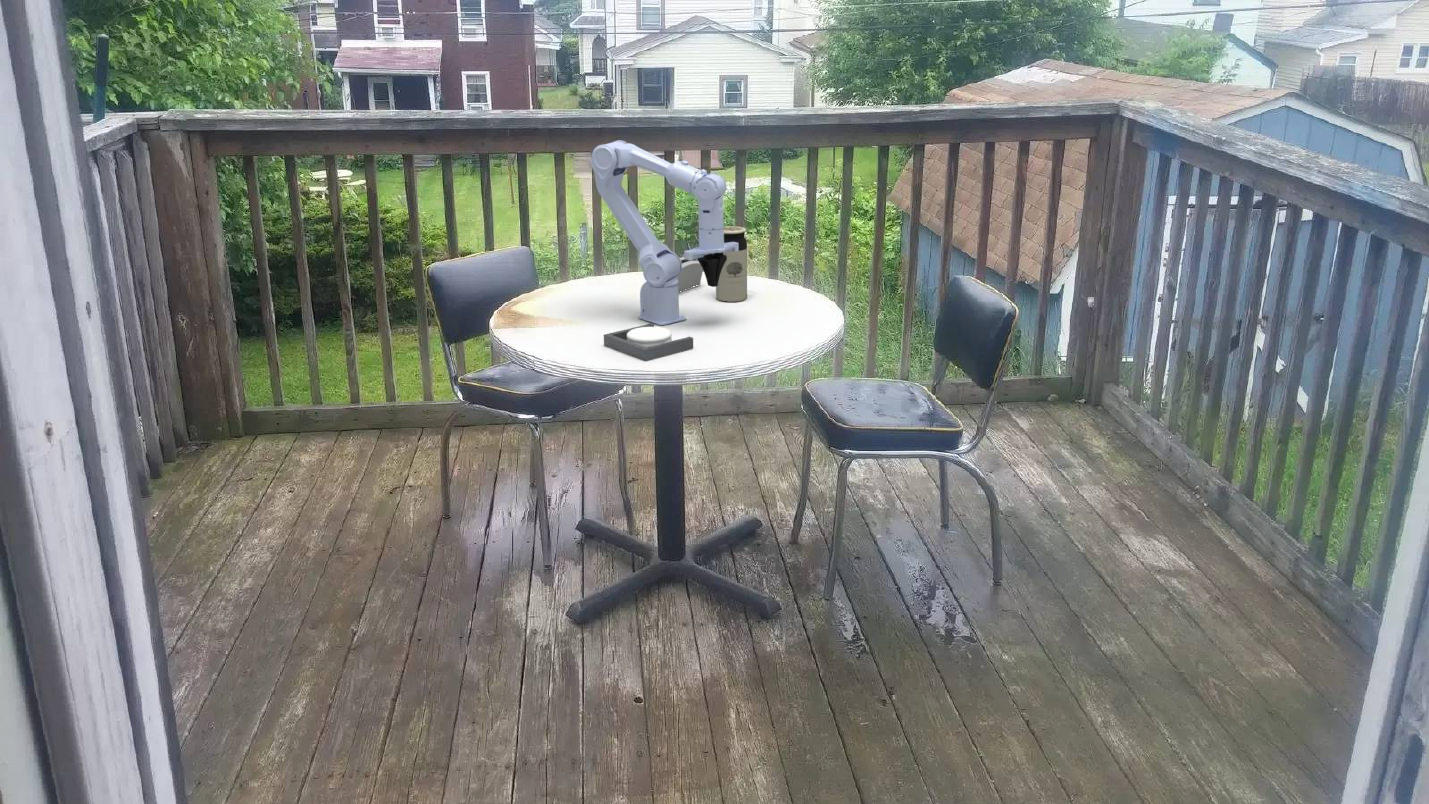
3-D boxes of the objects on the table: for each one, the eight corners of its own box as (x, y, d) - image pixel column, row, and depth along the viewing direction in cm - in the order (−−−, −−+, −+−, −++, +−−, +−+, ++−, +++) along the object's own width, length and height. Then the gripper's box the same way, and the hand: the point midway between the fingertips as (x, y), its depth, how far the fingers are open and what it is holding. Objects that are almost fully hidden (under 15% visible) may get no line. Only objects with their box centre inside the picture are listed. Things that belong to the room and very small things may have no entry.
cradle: (604, 345, 250) (603, 334, 249) (651, 333, 258) (650, 323, 257) (645, 361, 239) (645, 349, 238) (693, 348, 247) (693, 337, 246)
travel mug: (716, 294, 291) (715, 225, 285) (747, 294, 291) (747, 225, 284) (715, 302, 283) (714, 232, 277) (746, 302, 283) (746, 232, 277)
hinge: (685, 282, 304) (694, 249, 299) (698, 290, 302) (708, 257, 297) (646, 295, 291) (656, 261, 286) (660, 304, 289) (670, 270, 284)
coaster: (650, 338, 256) (649, 323, 254) (681, 346, 249) (680, 331, 248) (617, 348, 249) (617, 333, 248) (649, 357, 242) (648, 341, 241)
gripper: (696, 234, 250) (698, 294, 254) (746, 225, 258) (747, 283, 263) (677, 230, 255) (680, 288, 259) (727, 221, 263) (728, 278, 268)
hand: (712, 285), depth 261 cm, fingers closed
